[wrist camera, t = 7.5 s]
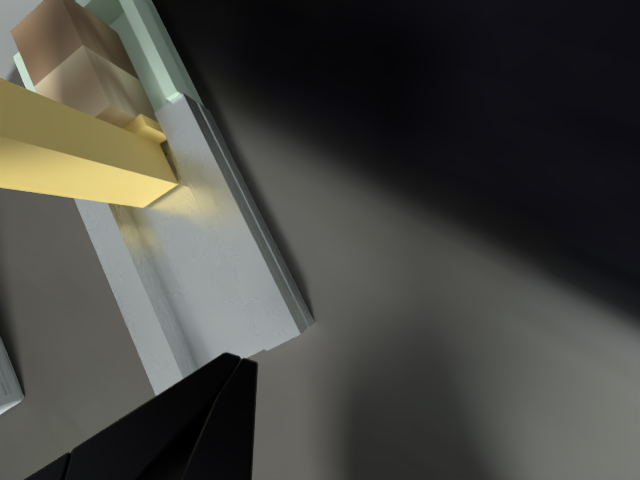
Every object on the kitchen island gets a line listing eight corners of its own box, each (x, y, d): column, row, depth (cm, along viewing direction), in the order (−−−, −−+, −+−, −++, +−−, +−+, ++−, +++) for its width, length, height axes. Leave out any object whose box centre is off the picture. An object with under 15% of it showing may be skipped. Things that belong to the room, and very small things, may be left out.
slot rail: (314, 322, 20) (301, 333, 17) (188, 384, 22) (158, 403, 19) (209, 110, 22) (182, 91, 19) (102, 186, 24) (65, 179, 21)
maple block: (163, 131, 21) (110, 105, 17) (119, 163, 22) (58, 145, 18) (140, 80, 22) (82, 44, 18) (97, 114, 22) (33, 86, 19)
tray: (207, 111, 22) (176, 91, 19) (104, 184, 24) (62, 176, 21) (151, 0, 23) (115, -36, 20) (58, 78, 25) (13, 56, 22)
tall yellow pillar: (189, 176, 20) (-163, 65, 8) (132, 214, 21) (-260, 170, 9) (165, 126, 21) (-203, -59, 8) (111, 165, 22) (-291, 55, 9)
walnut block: (140, 80, 22) (82, 44, 18) (97, 114, 22) (33, 86, 19) (117, 32, 22) (57, -13, 18) (76, 67, 23) (10, 31, 19)
